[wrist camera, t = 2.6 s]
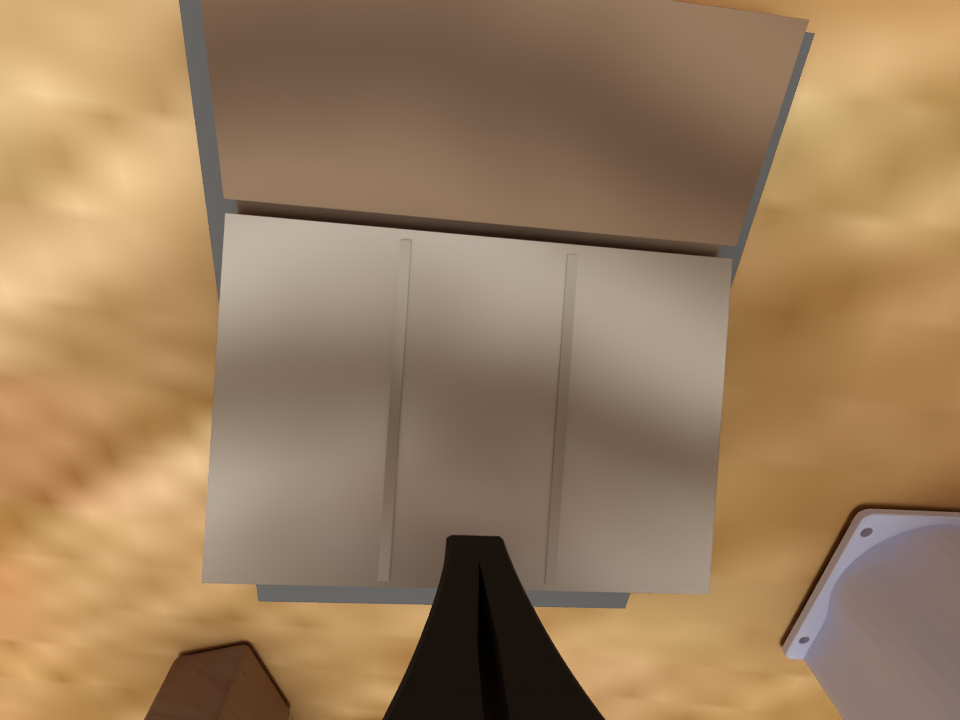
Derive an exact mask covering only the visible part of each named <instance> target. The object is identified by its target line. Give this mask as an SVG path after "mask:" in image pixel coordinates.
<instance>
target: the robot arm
mask: <svg viewBox="0 0 960 720" xmlns="http://www.w3.org/2000/svg"><path fill="white" fill-rule="evenodd" d="M782 650H783V652H784V654H785V655H786V657H787V658H789V659H804V660H805V662H806V663H807V665H808V666H809V668H810V669H811V671H812V673H813V674H814V676H815V677H816V679H817V680H818V682H819V683H820V685H821V686H822V688H823V689H824V691H825V692H826V694H827V695H828V697H829V698H830V700H831V701H832V703H833V704H834V706H835V707H836V709H837V710H838V712H839V713H840V715H841V716H842V718H843V719H844V720H960V512H940V511H916V510H891V509H864V510H862V511H860V512H858V513H857V514H856V516H855V517H854V519H853V521H852V522H851V524H850V526H849V528H848V530H847V531H846V533H845V535H844V537H843V539H842V540H841V542H840V544H839V546H838V548H837V549H836V551H835V553H834V555H833V557H832V558H831V560H830V562H829V564H828V566H827V567H826V569H825V571H824V573H823V575H822V576H821V578H820V580H819V582H818V584H817V585H816V587H815V589H814V591H813V593H812V594H811V596H810V598H809V600H808V602H807V603H806V605H805V607H804V609H803V611H802V612H801V614H800V616H799V618H798V620H797V621H796V623H795V625H794V627H793V629H792V630H791V632H790V634H789V636H788V638H787V639H786V641H785V643H784V645H783V647H782ZM382 720H605V718H604V717H603V716H602V715H601V713H600V712H599V711H598V709H597V708H596V707H595V705H594V704H593V702H592V701H591V700H590V698H589V697H588V696H587V694H586V693H585V691H584V690H583V689H582V687H581V686H580V684H579V683H578V681H577V680H576V678H575V677H574V675H573V674H572V672H571V671H570V669H569V668H568V666H567V665H566V663H565V662H564V660H563V658H562V657H561V655H560V654H559V652H558V650H557V649H556V647H555V645H554V644H553V642H552V640H551V639H550V637H549V635H548V634H547V632H546V630H545V628H544V627H543V625H542V623H541V621H540V619H539V618H538V616H537V614H536V612H535V610H534V608H533V606H532V604H531V602H530V600H529V598H528V596H527V594H526V592H525V590H524V588H523V586H522V584H521V582H520V580H519V577H518V575H517V573H516V571H515V569H514V566H513V564H512V561H511V559H510V556H509V554H508V551H507V549H506V546H505V543H504V540H503V539H502V538H501V537H500V536H477V535H450V536H449V537H447V538H446V547H445V558H444V565H443V569H442V573H441V577H440V582H439V585H438V588H437V591H436V595H435V598H434V601H433V604H432V608H431V611H430V613H429V616H428V619H427V621H426V624H425V627H424V629H423V632H422V635H421V637H420V640H419V642H418V645H417V647H416V650H415V652H414V654H413V657H412V659H411V661H410V664H409V666H408V668H407V670H406V672H405V675H404V677H403V679H402V681H401V683H400V685H399V687H398V690H397V692H396V694H395V696H394V698H393V700H392V701H391V703H390V705H389V707H388V709H387V711H386V713H385V715H384V717H383V719H382Z"/></svg>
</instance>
